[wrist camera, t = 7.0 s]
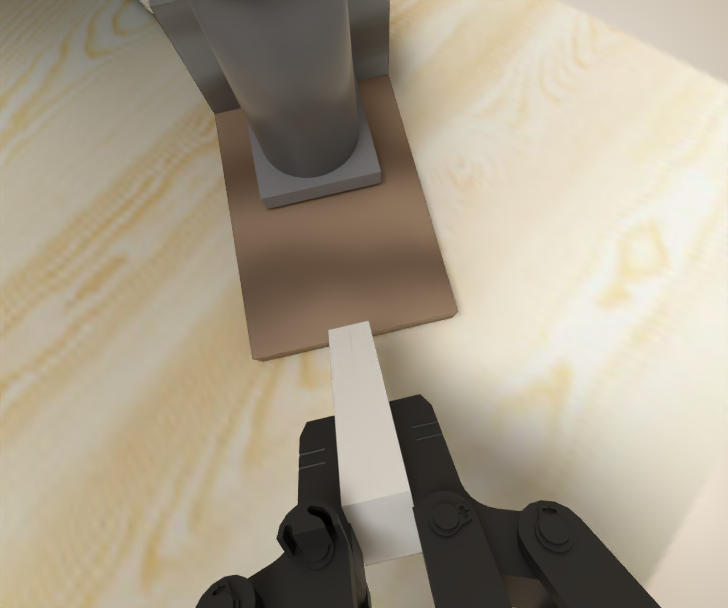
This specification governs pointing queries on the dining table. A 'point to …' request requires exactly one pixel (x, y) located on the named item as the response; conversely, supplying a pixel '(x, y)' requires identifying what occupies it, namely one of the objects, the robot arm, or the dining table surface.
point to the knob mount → (324, 212)
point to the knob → (294, 93)
